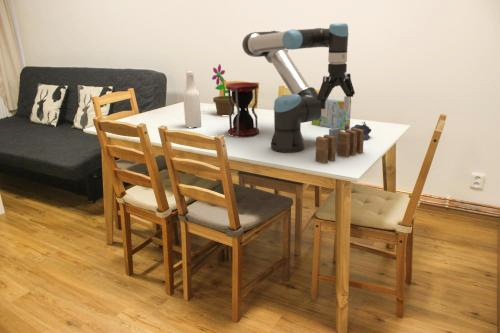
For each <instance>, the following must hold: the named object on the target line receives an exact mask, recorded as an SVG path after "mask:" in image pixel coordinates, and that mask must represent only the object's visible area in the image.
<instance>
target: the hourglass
mask: <svg viewBox="0 0 500 333" xmlns="http://www.w3.org/2000/svg"><path fill="white" fill-rule="evenodd" d="M258 88H259V84H258V83H256V82H250V81H244V82H243V81H241V82H240V81H239V82H230V83H227V84H225V90H228V93H227V96H228V100H229V104H230V105H231V108H232V111H231V113H230V115H229V116H228V117H229V120H228V121H229V129H228V130H227V133H228V135H229V134H230V135H233V136H232V137H234V136H238V137H237V138H249V136H250V137H254V136H257V135H259V134H260V129H259V128H258V115H257V113H256V112H255V108H256V106H257V105H258V104H257V103H258V93H257V92H258ZM231 96H232V99H233V101H234V103H235V105H234V106H233V104H232V103H231ZM253 100H254V104H253V105H252V107H251V112H252V115H253V116H254V118H255V119H254V118H253V116H252V115H251V113H250V110H249V105H250V104H251V103H252V101H253ZM235 107H236V112H237V114H235V116H234V118H233V119H232V116H233V115H232V113H233V112H234V113H235ZM254 120H255V123H254ZM230 135H229V136H230Z"/></svg>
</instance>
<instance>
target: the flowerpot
mask: <svg viewBox="0 0 500 333" xmlns="http://www.w3.org/2000/svg"><path fill="white" fill-rule="evenodd" d="M212 70H213V71H212V72H214V75H213V76H212V77H211V80H216V81H215V82H216V83H215V84H216V87H215V88H214V89H215V90H218V91H221V90H222V91H223V95H220V96H215V97H213V98H212V99H213V103H215V109H216V114H218V115H217V116H219V115H230V113H231V111H232V108H231V105H230V104H229V100H228V95H226V94H228V89H226V84H225V80H224V79H225V78H224V77H223V75H224V74H225V73H226V70H223V69H222V65H221V64H218V66H217V68H216V67H213V68H212ZM220 81H221V82H222V84H220ZM230 96H231V103H232V104H233V106H234V107H235V106H236V104H235V103H234V101H233V99H232V95H230ZM232 114H233V115H234V114H235V111H234V112H233V113H232Z"/></svg>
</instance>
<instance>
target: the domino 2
mask: <svg viewBox="0 0 500 333" xmlns="http://www.w3.org/2000/svg"><path fill="white" fill-rule="evenodd" d="M340 131H342V130H341V128H330V129H328V135H331V136H334V137H336V150H335V153H337V149H338V132H340Z"/></svg>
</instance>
